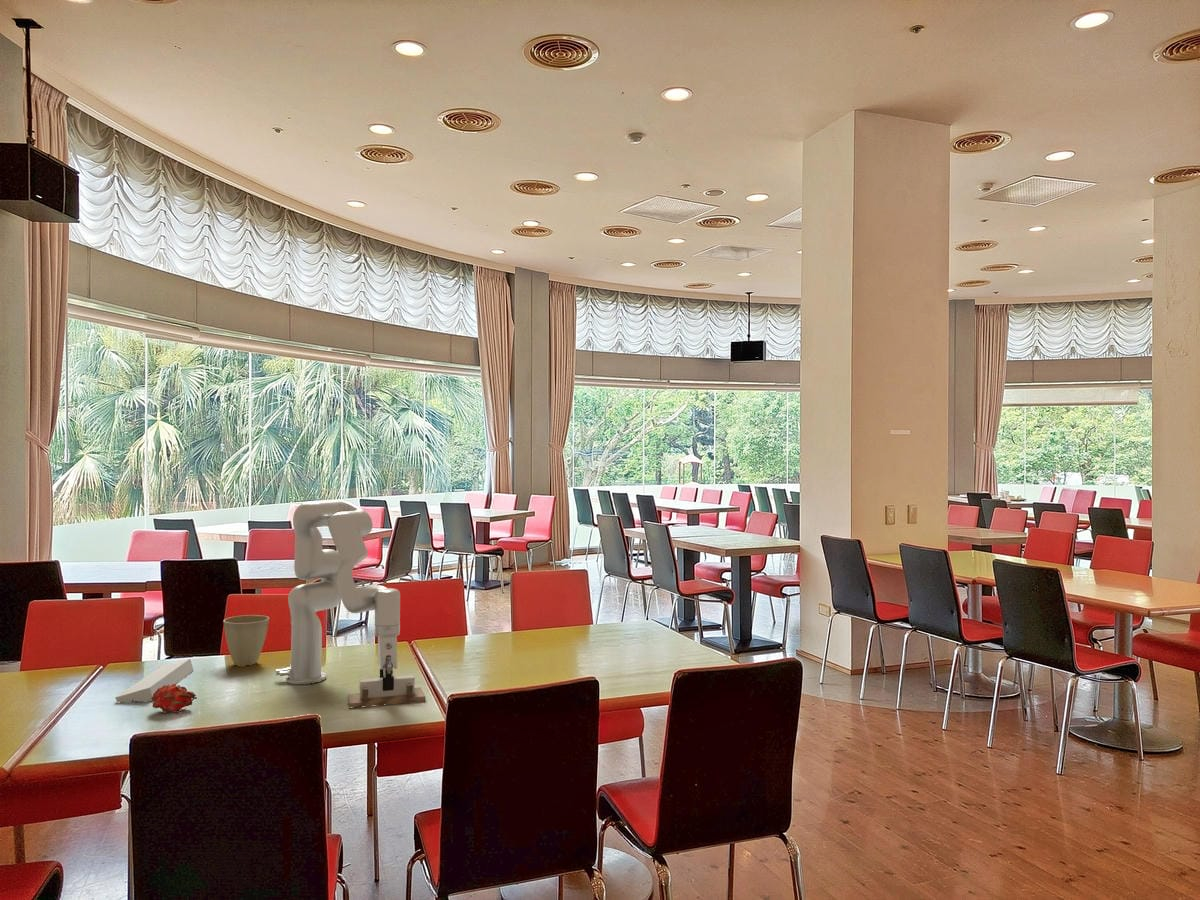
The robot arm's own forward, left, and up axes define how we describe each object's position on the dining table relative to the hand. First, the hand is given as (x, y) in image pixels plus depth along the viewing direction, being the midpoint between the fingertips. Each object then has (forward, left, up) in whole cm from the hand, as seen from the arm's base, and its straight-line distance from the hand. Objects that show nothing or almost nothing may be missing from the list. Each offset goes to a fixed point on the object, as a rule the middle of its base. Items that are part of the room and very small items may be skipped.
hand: (386, 685), depth 244 cm
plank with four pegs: (0, 0, -4) cm, 4 cm away
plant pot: (-43, +59, -4) cm, 73 cm away
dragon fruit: (-59, +9, -5) cm, 60 cm away
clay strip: (0, 0, -3) cm, 3 cm away
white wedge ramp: (-68, +38, -5) cm, 78 cm away
